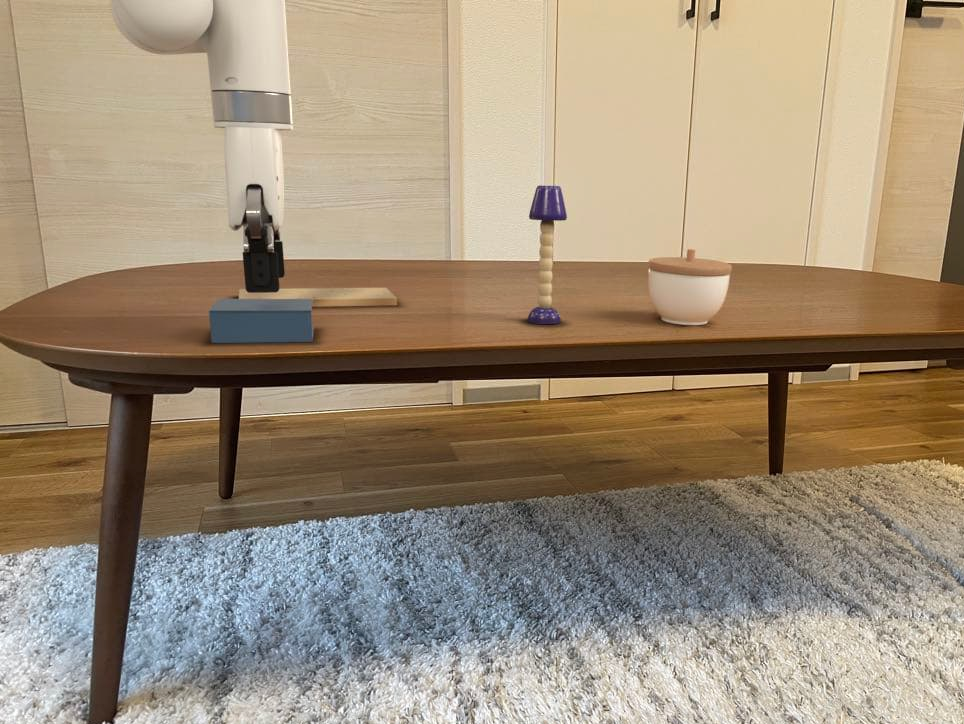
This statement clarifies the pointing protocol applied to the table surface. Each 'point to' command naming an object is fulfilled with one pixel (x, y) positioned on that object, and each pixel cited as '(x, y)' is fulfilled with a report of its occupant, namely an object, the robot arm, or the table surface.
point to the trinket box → (687, 288)
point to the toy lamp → (546, 248)
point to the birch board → (330, 296)
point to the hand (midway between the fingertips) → (266, 284)
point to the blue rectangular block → (261, 320)
